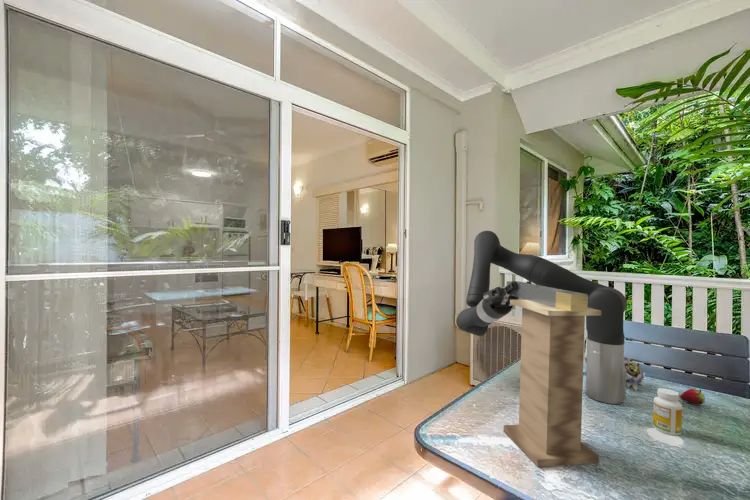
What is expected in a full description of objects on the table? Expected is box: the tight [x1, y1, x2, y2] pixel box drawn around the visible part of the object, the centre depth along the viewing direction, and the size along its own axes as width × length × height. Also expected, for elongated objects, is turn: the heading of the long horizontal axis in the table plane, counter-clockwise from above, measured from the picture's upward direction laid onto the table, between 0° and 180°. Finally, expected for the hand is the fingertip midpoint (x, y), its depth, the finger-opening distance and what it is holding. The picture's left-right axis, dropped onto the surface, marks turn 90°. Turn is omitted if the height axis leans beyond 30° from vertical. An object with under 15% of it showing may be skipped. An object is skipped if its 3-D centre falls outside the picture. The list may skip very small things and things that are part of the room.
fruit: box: [679, 388, 706, 406], centre depth 97 cm, size 4×6×5 cm
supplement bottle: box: [652, 387, 683, 436], centre depth 82 cm, size 5×5×10 cm
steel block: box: [506, 280, 588, 312], centre depth 78 cm, size 4×24×4 cm, turn 9°
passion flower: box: [624, 357, 646, 392], centre depth 110 cm, size 11×11×12 cm
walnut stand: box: [503, 300, 601, 468], centre depth 74 cm, size 14×14×32 cm
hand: (523, 284), depth 85 cm, fingers closed on steel block, 3 cm apart
